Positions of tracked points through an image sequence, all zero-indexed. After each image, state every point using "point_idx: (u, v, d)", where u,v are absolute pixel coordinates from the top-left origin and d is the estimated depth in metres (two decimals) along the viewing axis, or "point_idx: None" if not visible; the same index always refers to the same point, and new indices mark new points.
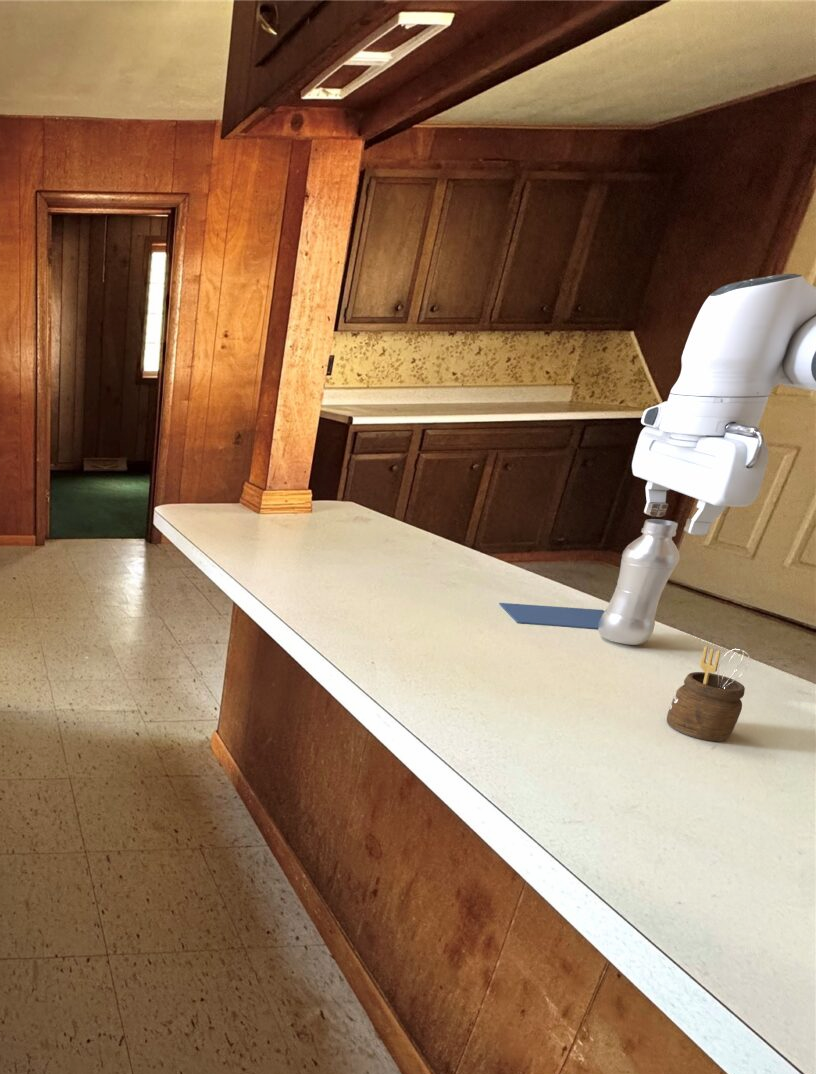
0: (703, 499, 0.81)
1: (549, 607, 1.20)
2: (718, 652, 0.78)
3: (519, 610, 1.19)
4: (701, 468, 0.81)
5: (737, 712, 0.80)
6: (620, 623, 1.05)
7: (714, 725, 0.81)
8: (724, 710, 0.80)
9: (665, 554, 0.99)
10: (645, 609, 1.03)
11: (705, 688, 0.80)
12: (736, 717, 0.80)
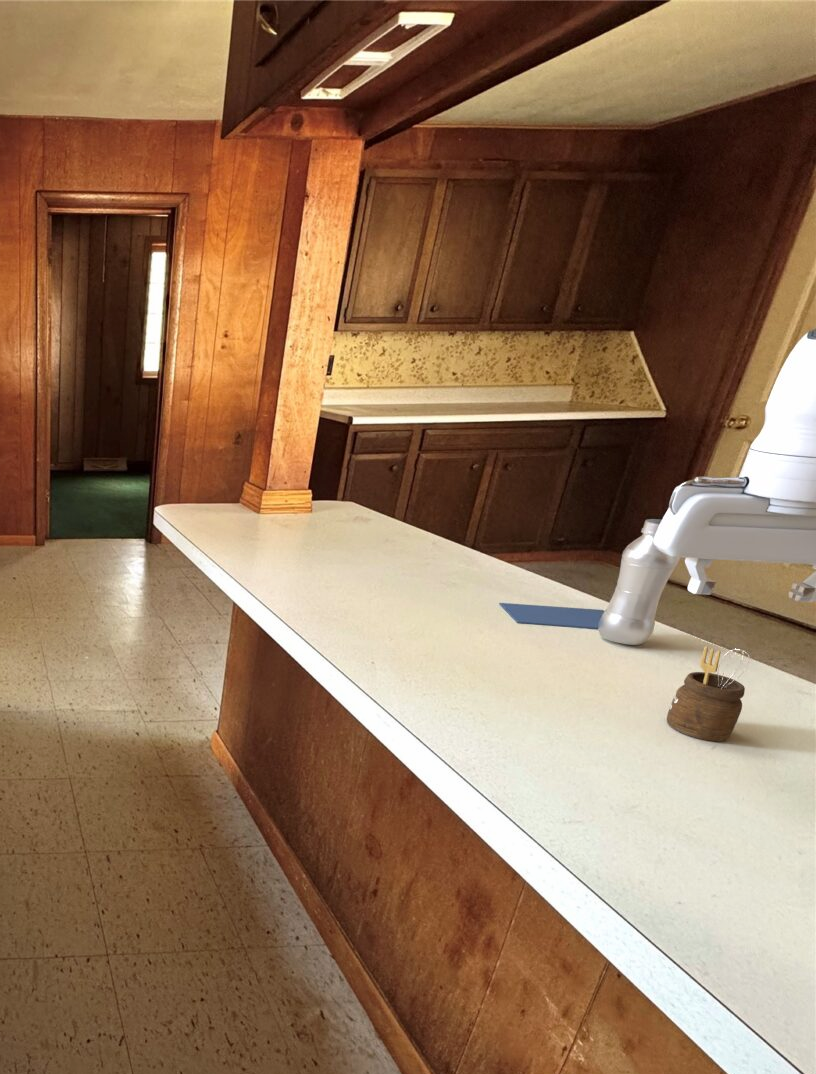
0: None
1: (549, 607, 1.20)
2: (718, 652, 0.78)
3: (519, 610, 1.19)
4: None
5: (737, 712, 0.80)
6: (620, 623, 1.05)
7: (714, 725, 0.81)
8: (724, 710, 0.80)
9: (665, 554, 0.99)
10: (645, 609, 1.03)
11: (705, 688, 0.80)
12: (736, 717, 0.80)
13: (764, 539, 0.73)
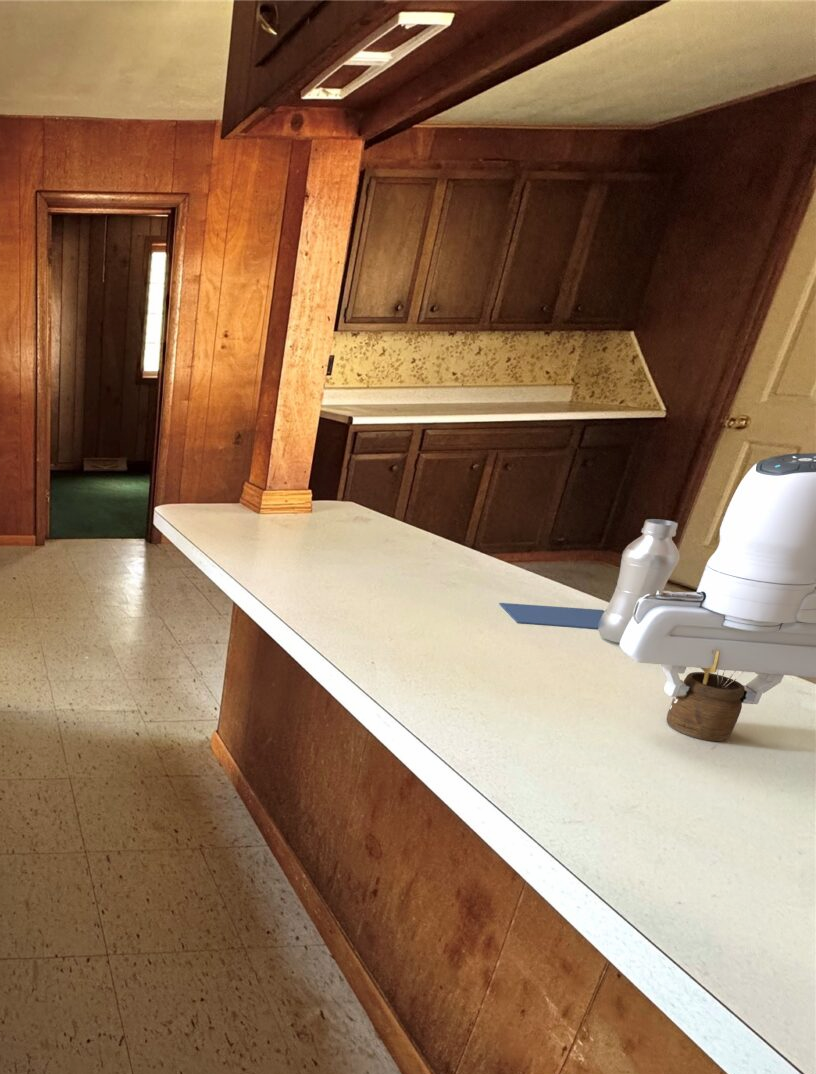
0: None
1: (549, 607, 1.20)
2: (718, 652, 0.78)
3: (519, 610, 1.19)
4: None
5: (737, 712, 0.80)
6: (620, 623, 1.05)
7: (714, 725, 0.81)
8: (724, 710, 0.80)
9: (665, 554, 0.99)
10: None
11: (705, 688, 0.80)
12: (736, 717, 0.80)
13: (721, 650, 0.78)
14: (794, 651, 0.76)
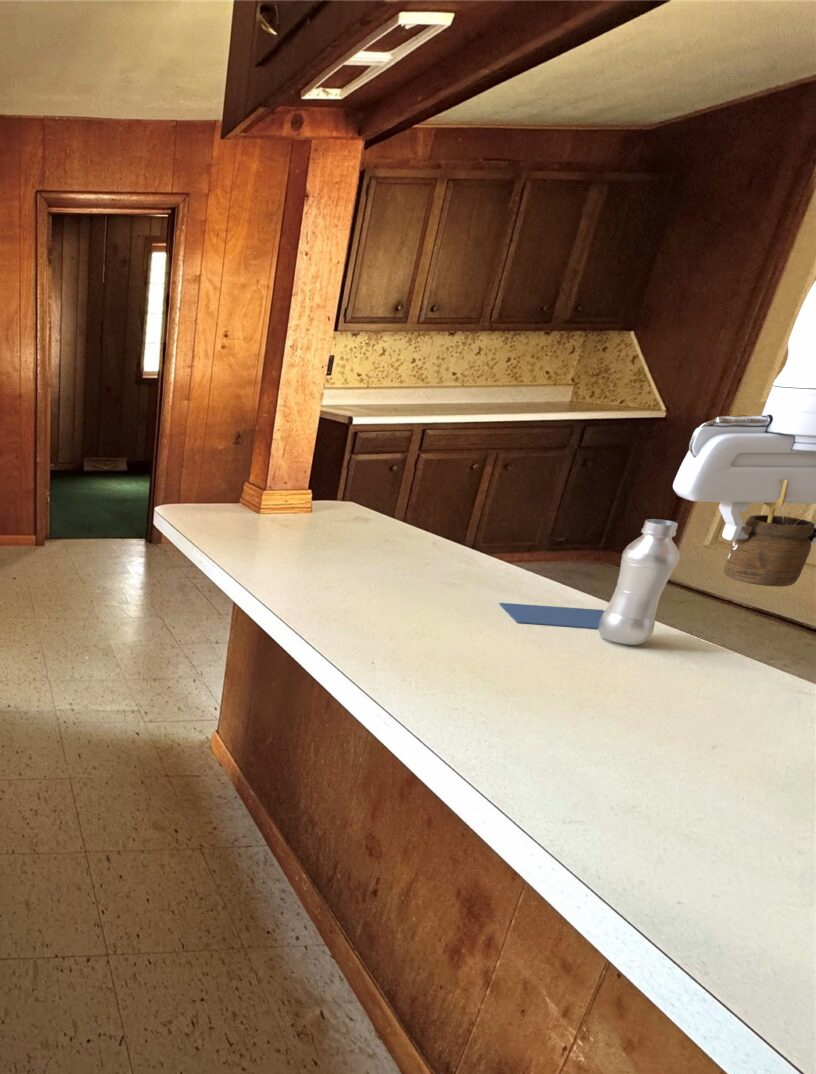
0: None
1: (549, 607, 1.20)
2: (786, 481, 0.71)
3: (519, 610, 1.19)
4: None
5: (806, 551, 0.72)
6: (620, 623, 1.05)
7: (780, 567, 0.73)
8: (792, 549, 0.72)
9: (665, 554, 0.99)
10: (645, 609, 1.03)
11: (770, 526, 0.73)
12: (805, 557, 0.73)
13: (789, 479, 0.71)
14: None
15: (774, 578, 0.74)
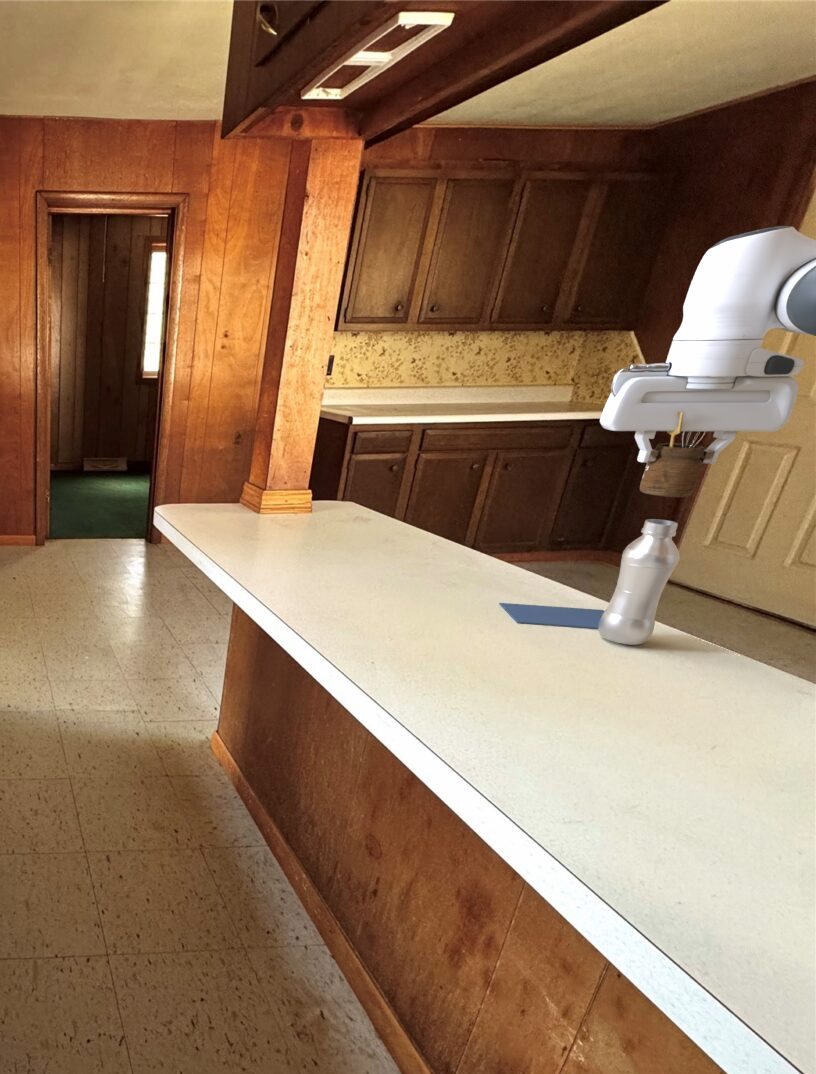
0: None
1: (549, 607, 1.20)
2: (681, 413, 0.92)
3: (519, 610, 1.19)
4: None
5: (698, 468, 0.94)
6: (620, 623, 1.05)
7: (679, 481, 0.95)
8: (687, 466, 0.94)
9: (665, 554, 0.99)
10: (645, 609, 1.03)
11: (671, 449, 0.95)
12: (697, 473, 0.94)
13: (684, 412, 0.93)
14: (745, 407, 0.90)
15: (675, 490, 0.95)
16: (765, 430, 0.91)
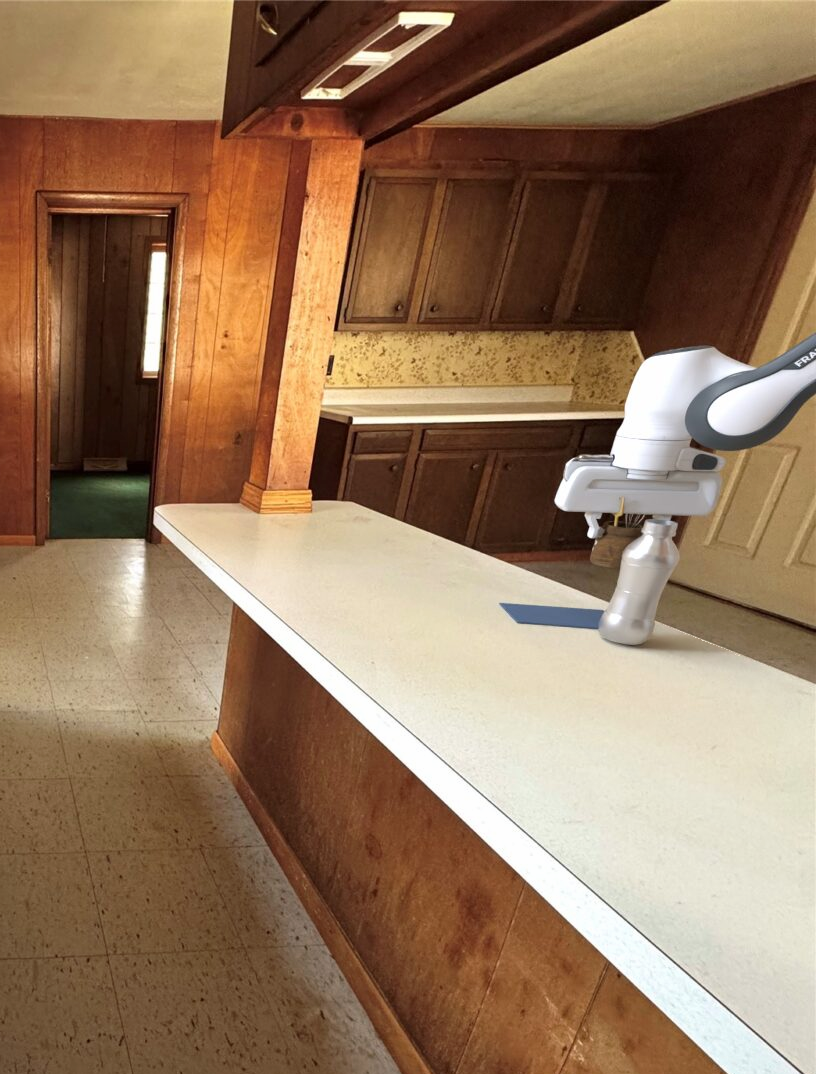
0: None
1: (549, 607, 1.20)
2: (623, 498, 1.06)
3: (519, 610, 1.19)
4: None
5: None
6: (620, 623, 1.05)
7: None
8: (628, 544, 1.08)
9: (665, 554, 0.99)
10: (645, 609, 1.03)
11: (615, 528, 1.08)
12: None
13: (625, 497, 1.06)
14: (677, 495, 1.04)
15: (618, 564, 1.09)
16: (695, 515, 1.04)
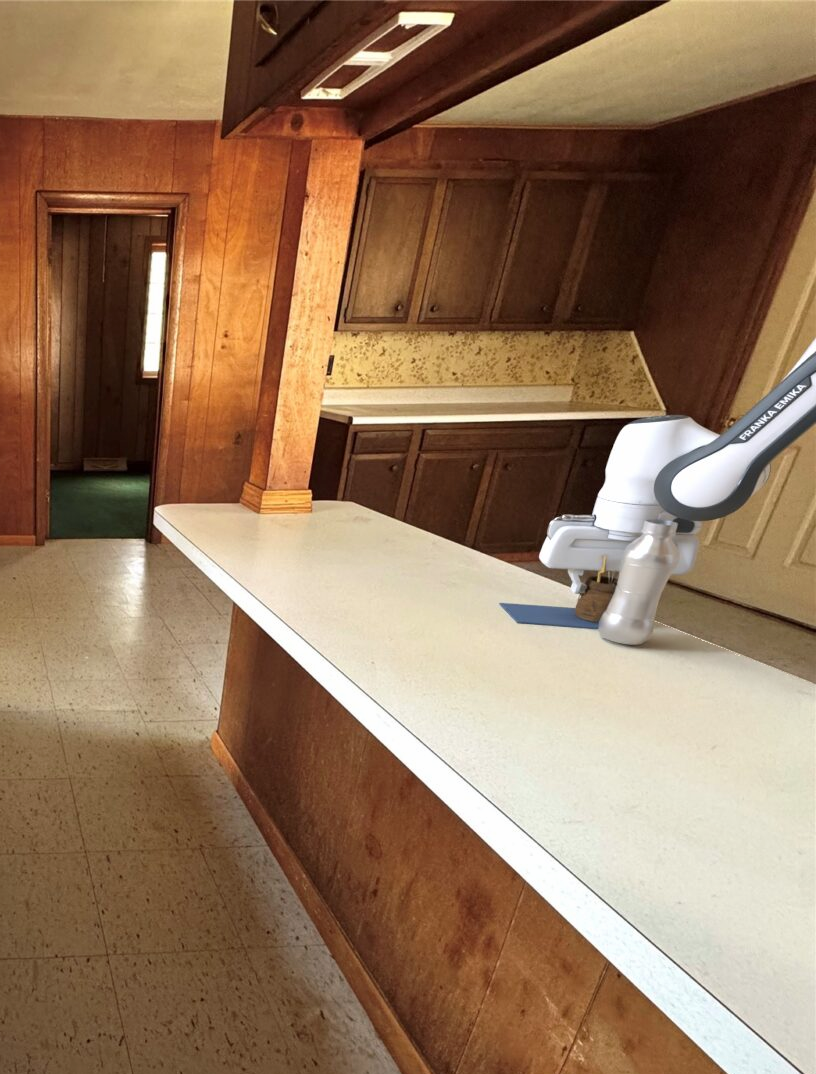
0: None
1: (549, 607, 1.20)
2: (605, 557, 1.10)
3: (519, 610, 1.19)
4: None
5: None
6: (620, 623, 1.05)
7: None
8: None
9: (665, 554, 0.99)
10: (645, 609, 1.03)
11: (598, 584, 1.12)
12: None
13: (607, 556, 1.10)
14: None
15: None
16: (674, 574, 1.08)
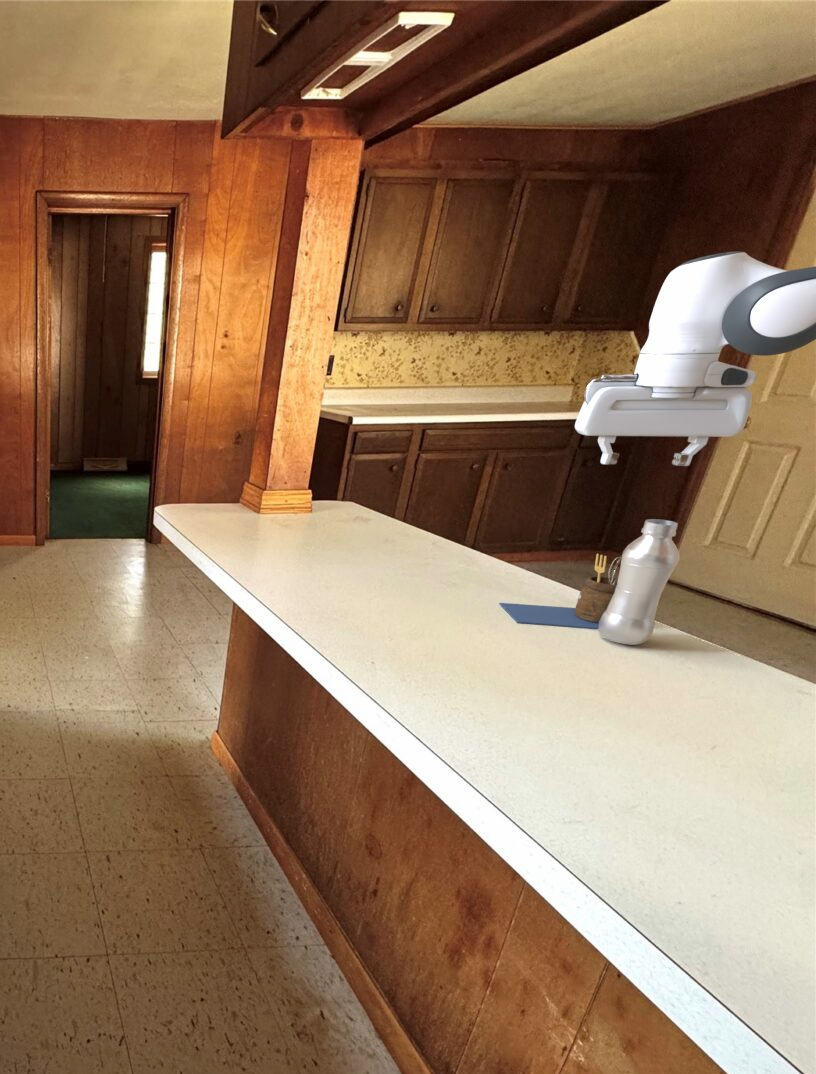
0: None
1: (549, 607, 1.20)
2: (605, 557, 1.10)
3: (519, 610, 1.19)
4: None
5: None
6: (620, 623, 1.05)
7: None
8: None
9: (665, 554, 0.99)
10: (645, 609, 1.03)
11: (598, 584, 1.12)
12: None
13: (650, 418, 1.02)
14: (705, 414, 1.00)
15: None
16: (723, 435, 1.00)
